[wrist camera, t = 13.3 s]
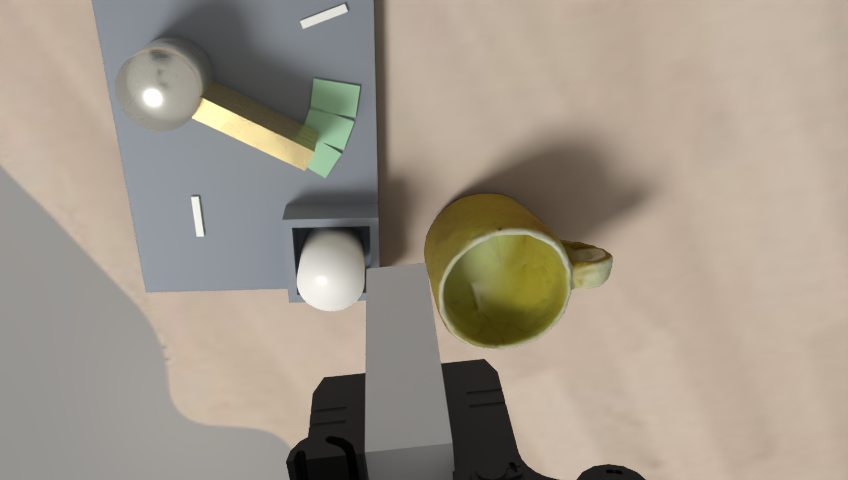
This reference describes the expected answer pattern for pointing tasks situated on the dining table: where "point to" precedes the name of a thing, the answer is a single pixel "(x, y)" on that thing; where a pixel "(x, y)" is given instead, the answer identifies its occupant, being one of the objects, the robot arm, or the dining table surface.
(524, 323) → the mug
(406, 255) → the dining table surface
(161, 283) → the board
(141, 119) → the grey and tan piece
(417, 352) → the robot arm
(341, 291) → the button
